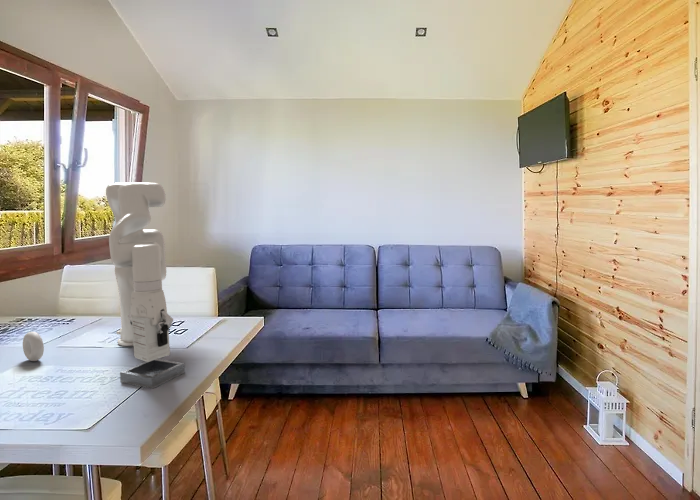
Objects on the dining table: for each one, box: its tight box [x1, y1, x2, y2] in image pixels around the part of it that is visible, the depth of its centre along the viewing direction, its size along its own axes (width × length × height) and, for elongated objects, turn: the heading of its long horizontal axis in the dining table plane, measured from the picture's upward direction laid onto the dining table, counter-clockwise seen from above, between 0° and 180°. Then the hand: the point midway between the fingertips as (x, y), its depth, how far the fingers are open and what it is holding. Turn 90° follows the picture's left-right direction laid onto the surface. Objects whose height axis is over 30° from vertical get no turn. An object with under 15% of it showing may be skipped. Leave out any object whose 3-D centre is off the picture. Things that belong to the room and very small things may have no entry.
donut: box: [22, 331, 45, 362], centre depth 142 cm, size 10×4×10 cm, turn 57°
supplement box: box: [132, 316, 171, 362], centre depth 127 cm, size 7×7×13 cm
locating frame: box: [119, 358, 186, 389], centre depth 128 cm, size 12×12×3 cm
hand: (151, 343), depth 127 cm, fingers closed on supplement box, 8 cm apart
